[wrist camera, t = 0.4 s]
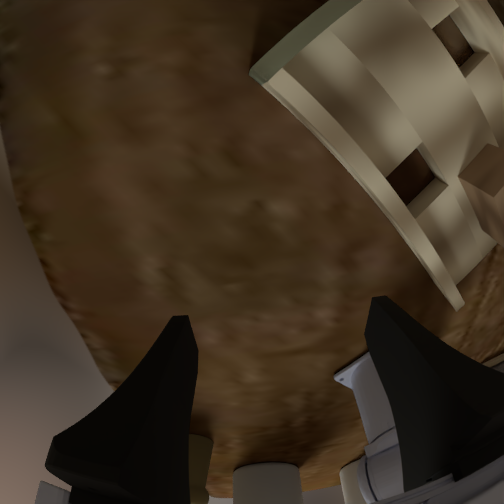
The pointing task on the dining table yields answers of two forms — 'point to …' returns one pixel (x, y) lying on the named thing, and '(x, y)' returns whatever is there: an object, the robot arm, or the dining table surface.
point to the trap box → (401, 111)
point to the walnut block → (487, 190)
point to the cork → (199, 467)
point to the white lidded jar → (351, 484)
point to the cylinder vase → (267, 484)
